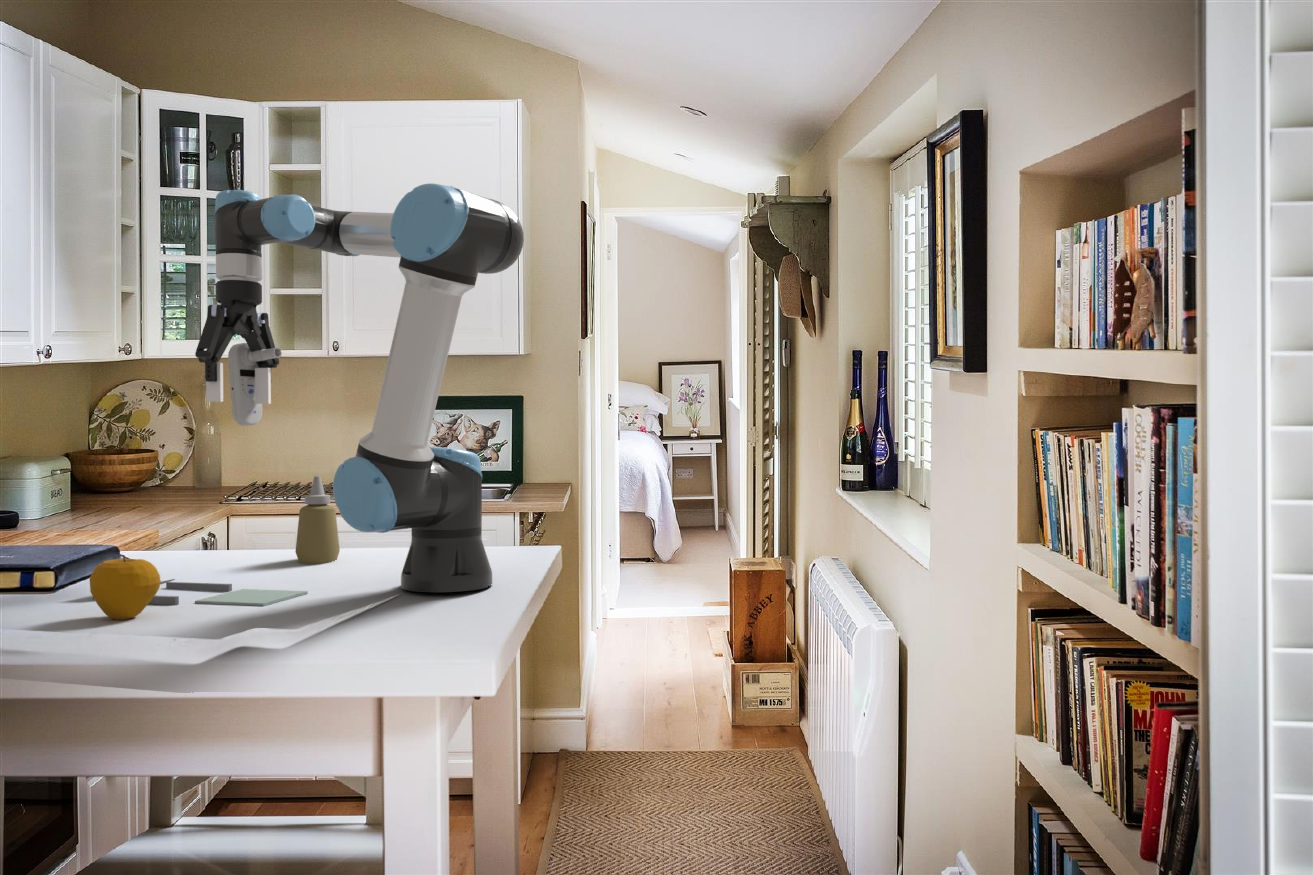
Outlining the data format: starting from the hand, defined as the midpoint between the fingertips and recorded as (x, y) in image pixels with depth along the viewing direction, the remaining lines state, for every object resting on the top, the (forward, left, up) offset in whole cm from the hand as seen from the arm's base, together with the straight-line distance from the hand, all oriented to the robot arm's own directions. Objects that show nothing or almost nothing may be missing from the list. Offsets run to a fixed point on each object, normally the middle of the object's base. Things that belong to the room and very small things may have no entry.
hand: (239, 403), depth 178 cm
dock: (+2, +15, -32) cm, 35 cm away
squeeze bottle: (-4, -18, -32) cm, 37 cm away
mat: (-12, +14, -32) cm, 37 cm away
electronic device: (-1, -5, -4) cm, 7 cm away
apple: (-4, +33, -32) cm, 46 cm away
